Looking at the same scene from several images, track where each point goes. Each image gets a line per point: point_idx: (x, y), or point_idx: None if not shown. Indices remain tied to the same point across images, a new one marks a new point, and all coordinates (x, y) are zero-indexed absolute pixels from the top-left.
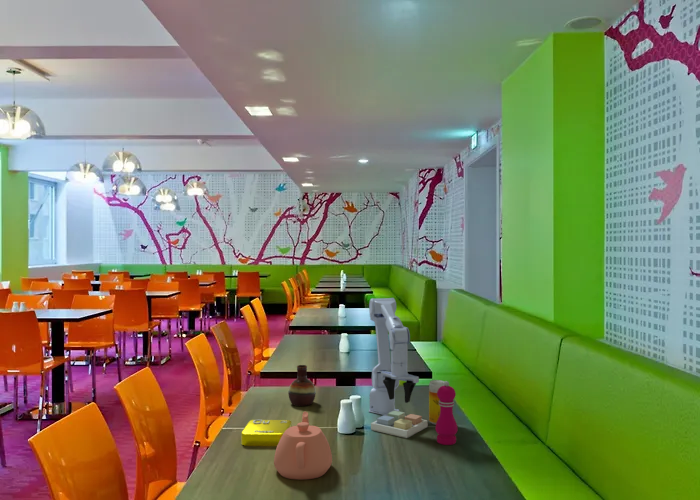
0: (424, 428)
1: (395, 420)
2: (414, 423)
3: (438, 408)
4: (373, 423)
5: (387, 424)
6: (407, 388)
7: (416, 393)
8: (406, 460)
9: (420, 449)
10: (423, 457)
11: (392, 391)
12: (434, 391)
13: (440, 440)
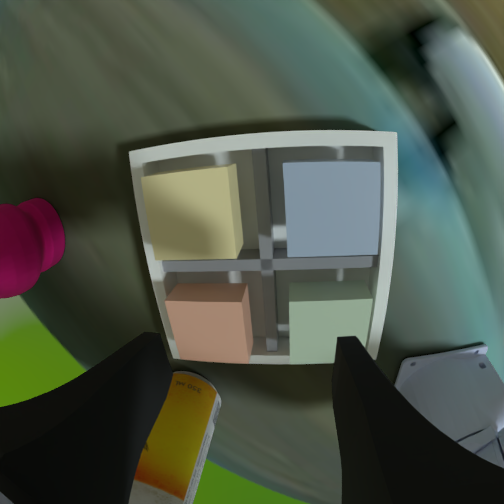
0: None
1: (310, 284)
2: (180, 288)
3: None
4: (381, 135)
5: (286, 161)
6: (13, 408)
7: None
8: (52, 3)
9: (52, 97)
10: (25, 60)
11: (345, 428)
12: None
13: (30, 200)
